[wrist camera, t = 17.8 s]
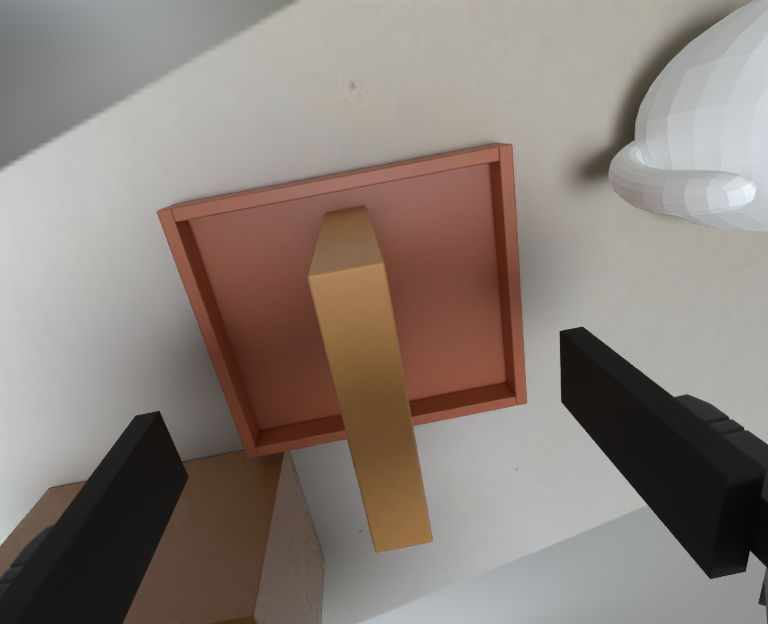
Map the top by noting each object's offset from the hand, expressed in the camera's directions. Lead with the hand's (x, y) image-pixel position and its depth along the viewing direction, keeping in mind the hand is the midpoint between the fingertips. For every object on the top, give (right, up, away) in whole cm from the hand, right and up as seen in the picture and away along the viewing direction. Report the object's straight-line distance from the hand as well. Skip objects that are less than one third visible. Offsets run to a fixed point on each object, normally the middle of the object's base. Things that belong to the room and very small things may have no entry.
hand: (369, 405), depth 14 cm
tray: (-1, +3, +8) cm, 9 cm away
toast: (-1, +3, +8) cm, 9 cm away
